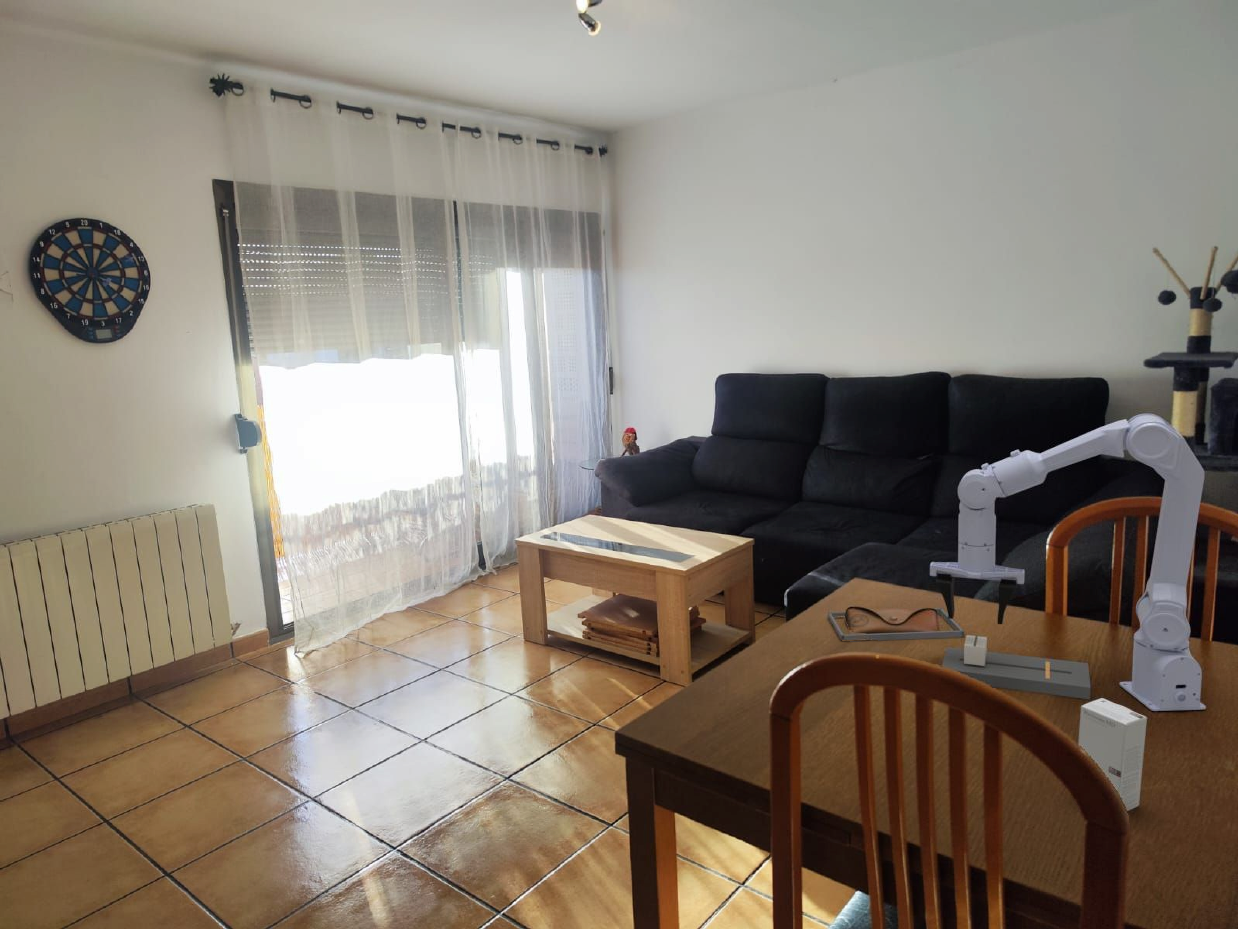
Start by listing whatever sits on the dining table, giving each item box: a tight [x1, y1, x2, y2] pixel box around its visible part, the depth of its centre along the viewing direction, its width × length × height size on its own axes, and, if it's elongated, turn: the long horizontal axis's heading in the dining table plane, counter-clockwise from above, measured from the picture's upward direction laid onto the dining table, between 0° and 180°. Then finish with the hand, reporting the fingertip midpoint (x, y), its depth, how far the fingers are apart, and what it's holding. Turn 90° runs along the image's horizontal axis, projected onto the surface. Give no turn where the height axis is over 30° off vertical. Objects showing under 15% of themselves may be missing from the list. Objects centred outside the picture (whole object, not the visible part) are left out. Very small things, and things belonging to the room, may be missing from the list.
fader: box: [963, 634, 988, 666], centre depth 142 cm, size 3×5×3 cm, turn 153°
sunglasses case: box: [844, 605, 941, 634], centre depth 165 cm, size 18×7×7 cm, turn 79°
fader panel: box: [941, 646, 1092, 701], centre depth 140 cm, size 22×10×2 cm, turn 63°
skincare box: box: [1077, 697, 1148, 812], centre depth 104 cm, size 6×4×12 cm
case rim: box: [827, 607, 965, 641], centre depth 165 cm, size 13×23×1 cm, turn 87°
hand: (975, 619), depth 142 cm, fingers open, 7 cm apart
